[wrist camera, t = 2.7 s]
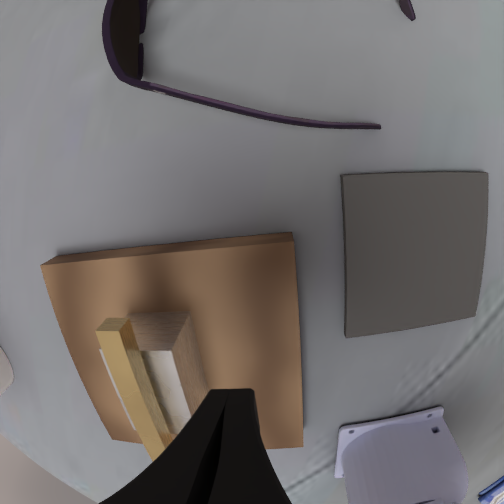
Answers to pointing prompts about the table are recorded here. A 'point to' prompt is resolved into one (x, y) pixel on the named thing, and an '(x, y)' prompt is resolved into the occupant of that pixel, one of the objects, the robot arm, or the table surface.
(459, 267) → the rubber mat
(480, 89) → the table surface
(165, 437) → the lever
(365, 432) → the robot arm
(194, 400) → the grey block
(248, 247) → the wooden base
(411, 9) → the sunglasses
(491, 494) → the dish towel
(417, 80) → the table surface
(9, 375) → the cylindrical container
